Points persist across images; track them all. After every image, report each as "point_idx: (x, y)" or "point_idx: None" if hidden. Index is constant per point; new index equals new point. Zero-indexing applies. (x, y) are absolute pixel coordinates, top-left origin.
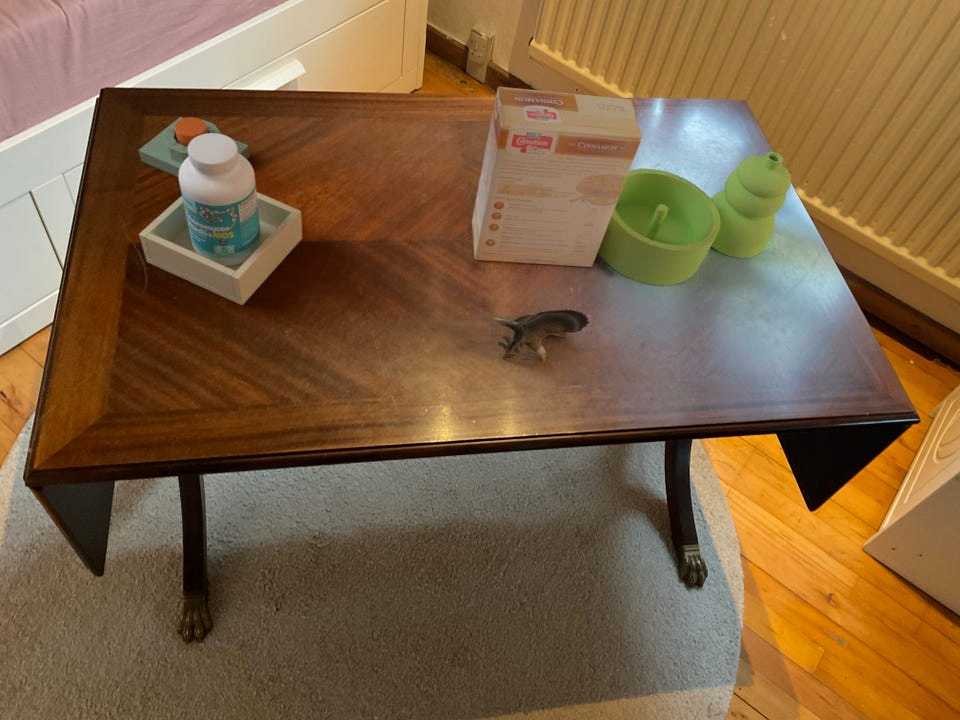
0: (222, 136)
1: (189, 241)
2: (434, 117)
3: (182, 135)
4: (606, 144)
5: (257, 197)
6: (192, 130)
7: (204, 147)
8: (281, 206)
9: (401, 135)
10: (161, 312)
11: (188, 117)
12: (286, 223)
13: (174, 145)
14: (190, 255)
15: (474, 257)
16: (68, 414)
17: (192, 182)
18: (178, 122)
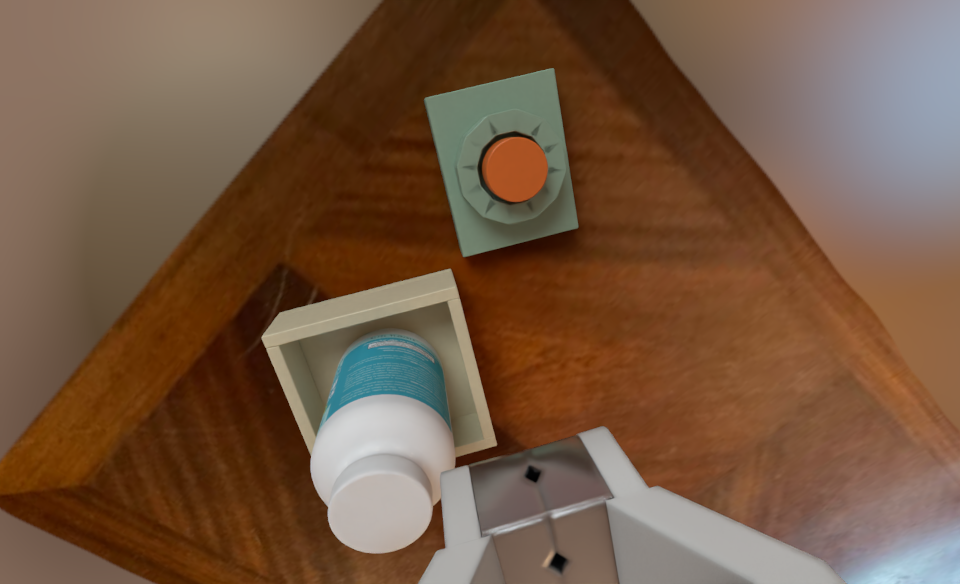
0: (421, 499)
1: (351, 331)
2: (839, 343)
3: (487, 180)
4: None
5: (470, 386)
6: (510, 183)
7: (368, 505)
8: (482, 421)
9: (770, 341)
10: (239, 400)
11: (534, 143)
12: (460, 453)
13: (467, 170)
14: (300, 421)
15: None
16: (42, 460)
17: (320, 484)
18: (508, 143)
